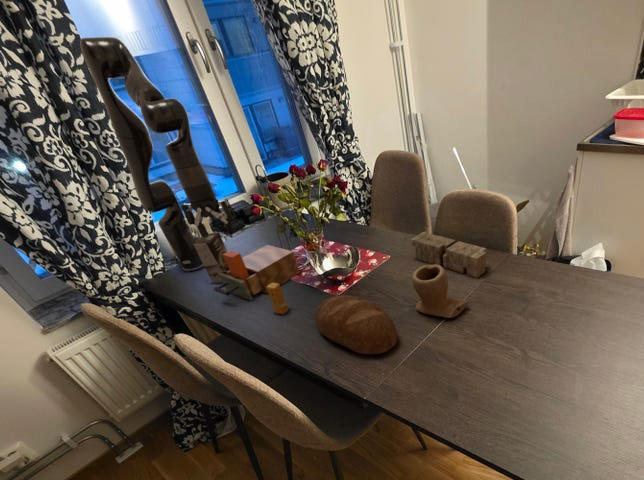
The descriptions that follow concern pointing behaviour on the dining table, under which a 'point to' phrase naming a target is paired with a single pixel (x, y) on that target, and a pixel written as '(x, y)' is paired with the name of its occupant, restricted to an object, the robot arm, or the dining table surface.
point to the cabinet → (272, 265)
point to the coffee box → (212, 255)
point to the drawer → (240, 285)
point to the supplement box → (277, 298)
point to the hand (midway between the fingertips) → (218, 235)
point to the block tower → (450, 254)
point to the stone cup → (435, 292)
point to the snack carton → (236, 266)
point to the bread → (356, 324)
